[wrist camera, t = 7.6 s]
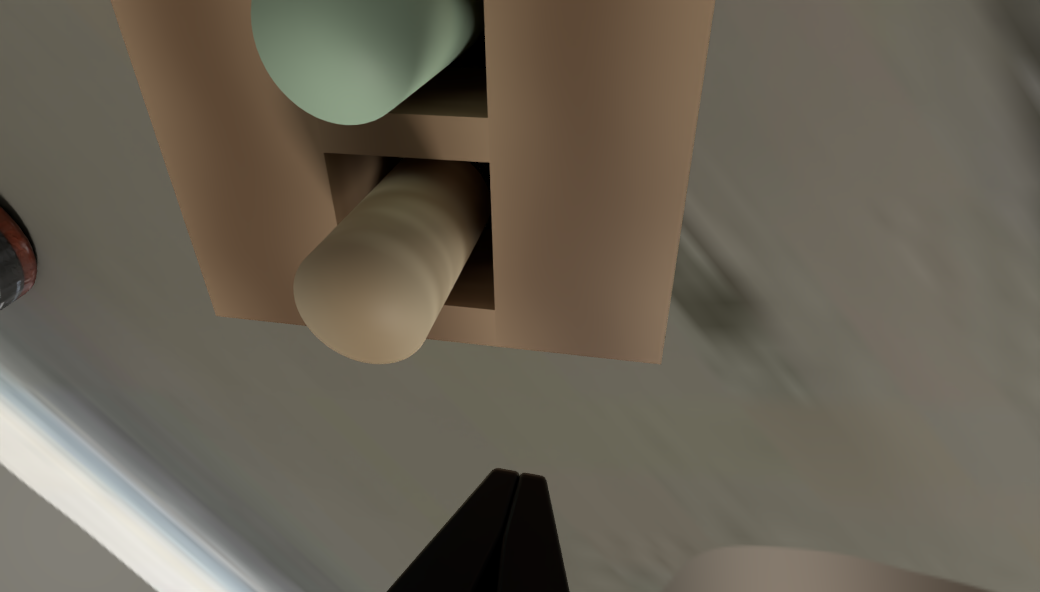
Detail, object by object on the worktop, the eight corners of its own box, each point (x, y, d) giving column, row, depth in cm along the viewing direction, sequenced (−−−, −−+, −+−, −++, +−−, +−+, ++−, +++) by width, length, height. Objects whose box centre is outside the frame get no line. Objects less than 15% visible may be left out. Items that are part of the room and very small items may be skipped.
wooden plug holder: (767, -525, 12) (827, -753, 8) (660, 275, 22) (660, 364, 17) (129, -452, 14) (-90, -598, 10) (292, 243, 24) (216, 315, 20)
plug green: (487, -74, 15) (405, -61, 10) (492, 61, 17) (423, 129, 12) (365, -74, 16) (231, -62, 11) (381, 58, 17) (272, 121, 12)
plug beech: (488, 151, 18) (423, 250, 13) (492, 250, 19) (435, 371, 14) (382, 145, 18) (279, 238, 13) (395, 242, 20) (308, 356, 15)
